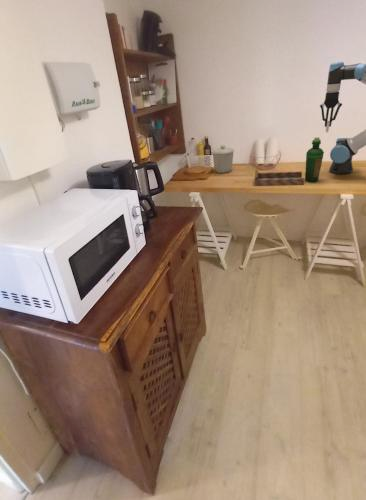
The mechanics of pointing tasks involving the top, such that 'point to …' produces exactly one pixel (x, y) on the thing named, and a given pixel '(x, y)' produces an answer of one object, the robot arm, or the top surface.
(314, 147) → the bottle
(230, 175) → the top surface
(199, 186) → the top surface
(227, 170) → the canister
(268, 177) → the u rest
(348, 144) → the robot arm
